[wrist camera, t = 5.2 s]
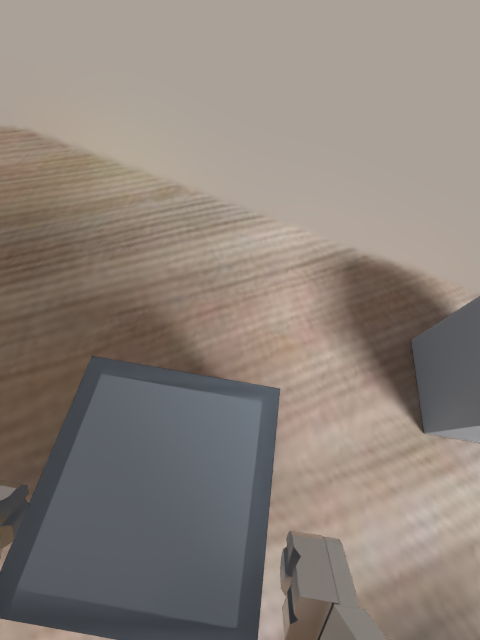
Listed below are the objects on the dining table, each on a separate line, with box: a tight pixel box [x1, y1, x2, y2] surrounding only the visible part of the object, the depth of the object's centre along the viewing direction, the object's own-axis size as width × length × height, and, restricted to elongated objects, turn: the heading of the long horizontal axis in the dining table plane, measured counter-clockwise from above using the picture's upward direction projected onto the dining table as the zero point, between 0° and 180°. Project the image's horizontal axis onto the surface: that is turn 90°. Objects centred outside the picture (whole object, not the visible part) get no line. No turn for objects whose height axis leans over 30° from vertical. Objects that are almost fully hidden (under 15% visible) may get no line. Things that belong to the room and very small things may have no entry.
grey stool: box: [0, 356, 280, 640], centre depth 11 cm, size 6×6×8 cm
